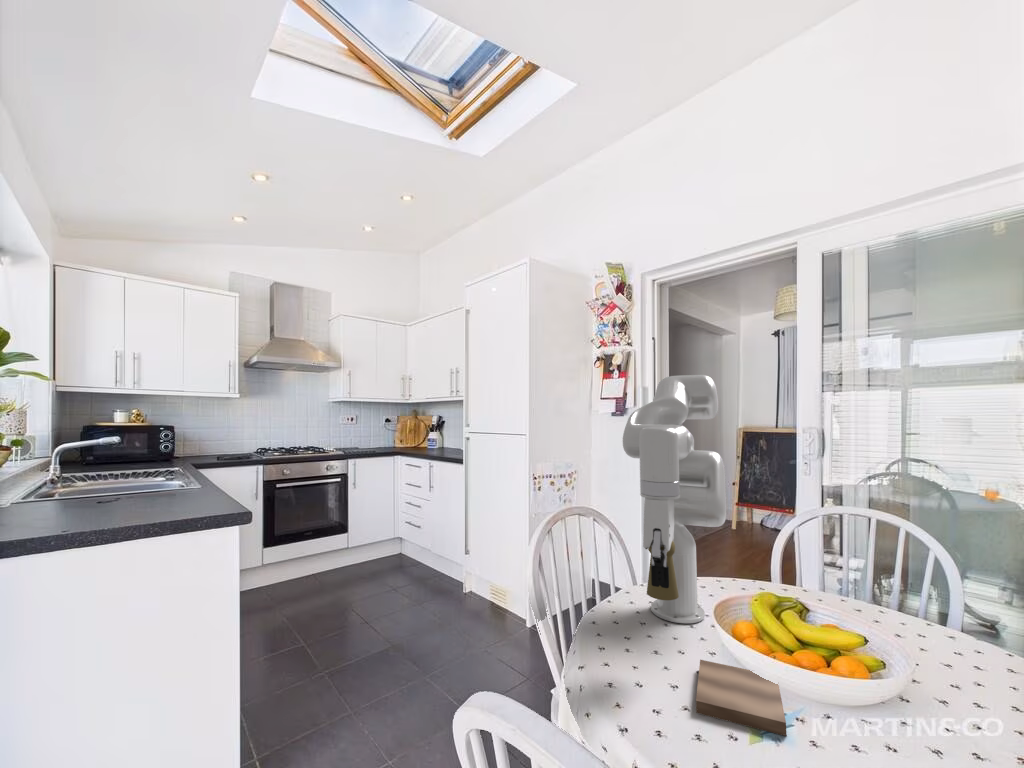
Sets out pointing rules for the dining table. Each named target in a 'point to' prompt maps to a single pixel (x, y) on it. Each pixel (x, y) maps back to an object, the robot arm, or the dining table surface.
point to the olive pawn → (672, 591)
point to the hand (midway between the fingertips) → (661, 581)
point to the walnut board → (739, 697)
